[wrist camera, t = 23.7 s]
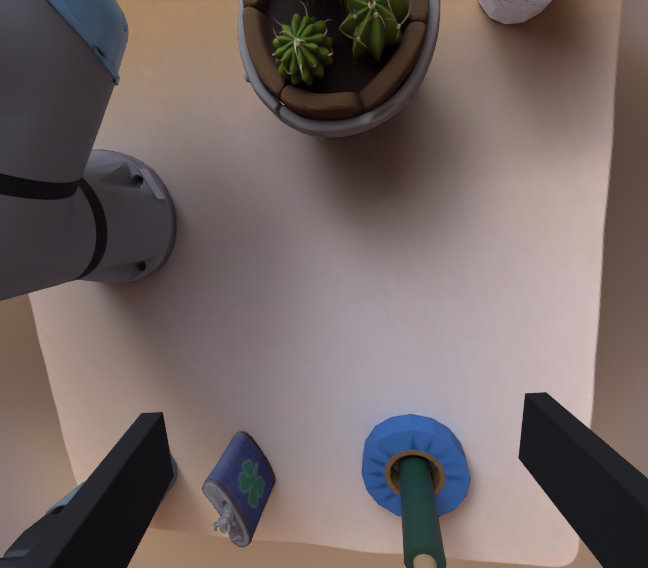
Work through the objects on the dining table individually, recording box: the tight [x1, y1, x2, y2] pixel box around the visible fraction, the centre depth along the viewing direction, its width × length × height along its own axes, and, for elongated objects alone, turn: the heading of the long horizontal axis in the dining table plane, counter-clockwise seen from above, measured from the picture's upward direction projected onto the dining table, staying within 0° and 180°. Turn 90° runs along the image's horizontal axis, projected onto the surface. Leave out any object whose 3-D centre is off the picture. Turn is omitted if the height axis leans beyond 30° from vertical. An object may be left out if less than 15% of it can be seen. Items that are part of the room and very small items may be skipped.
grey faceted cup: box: [45, 454, 177, 515], centre depth 45 cm, size 10×10×12 cm
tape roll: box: [362, 414, 470, 517], centre depth 42 cm, size 12×12×3 cm
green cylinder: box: [398, 455, 446, 568], centre depth 36 cm, size 4×4×15 cm
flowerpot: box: [238, 0, 440, 141], centre depth 25 cm, size 14×15×20 cm
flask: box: [202, 431, 276, 547], centre depth 42 cm, size 9×3×11 cm, turn 27°
